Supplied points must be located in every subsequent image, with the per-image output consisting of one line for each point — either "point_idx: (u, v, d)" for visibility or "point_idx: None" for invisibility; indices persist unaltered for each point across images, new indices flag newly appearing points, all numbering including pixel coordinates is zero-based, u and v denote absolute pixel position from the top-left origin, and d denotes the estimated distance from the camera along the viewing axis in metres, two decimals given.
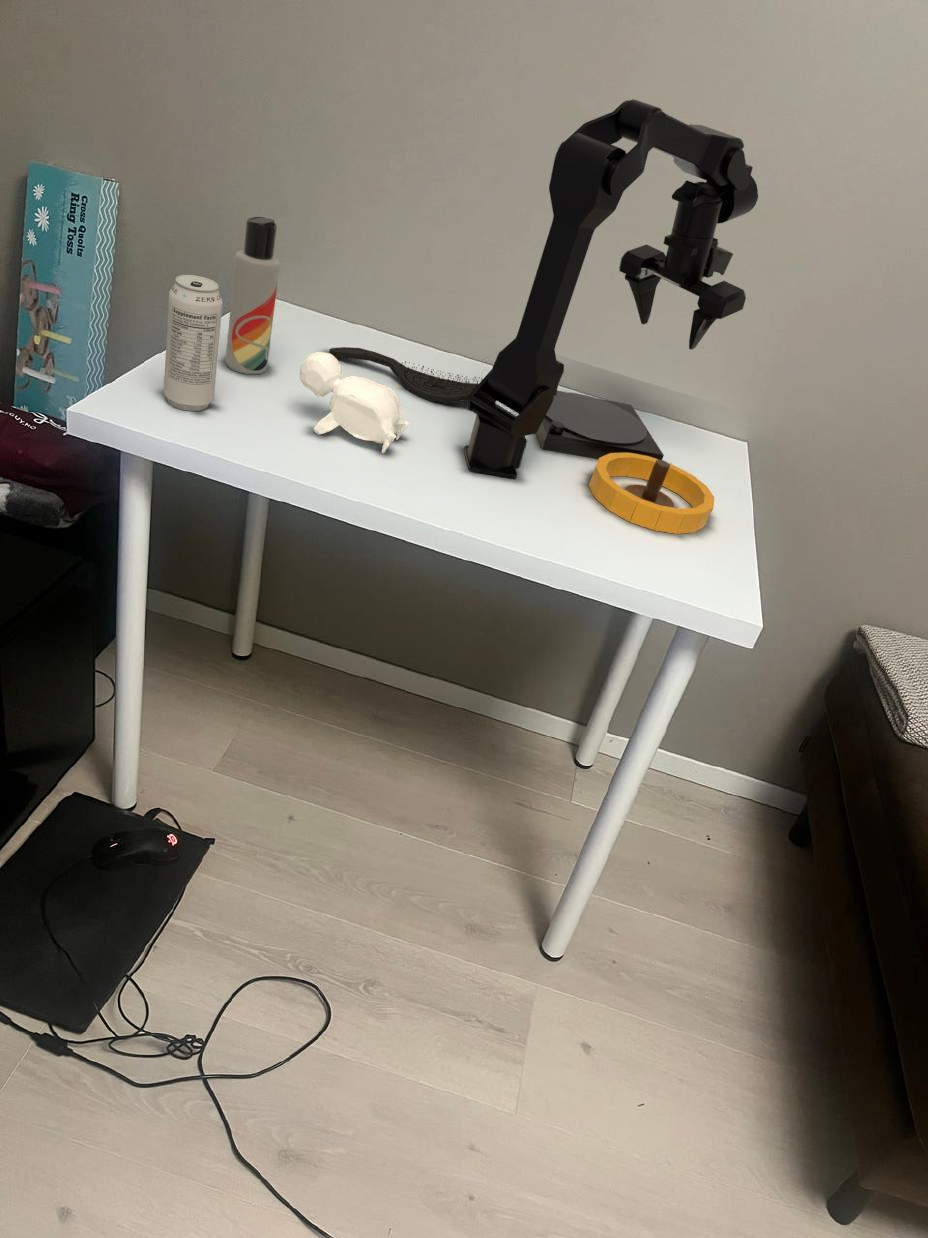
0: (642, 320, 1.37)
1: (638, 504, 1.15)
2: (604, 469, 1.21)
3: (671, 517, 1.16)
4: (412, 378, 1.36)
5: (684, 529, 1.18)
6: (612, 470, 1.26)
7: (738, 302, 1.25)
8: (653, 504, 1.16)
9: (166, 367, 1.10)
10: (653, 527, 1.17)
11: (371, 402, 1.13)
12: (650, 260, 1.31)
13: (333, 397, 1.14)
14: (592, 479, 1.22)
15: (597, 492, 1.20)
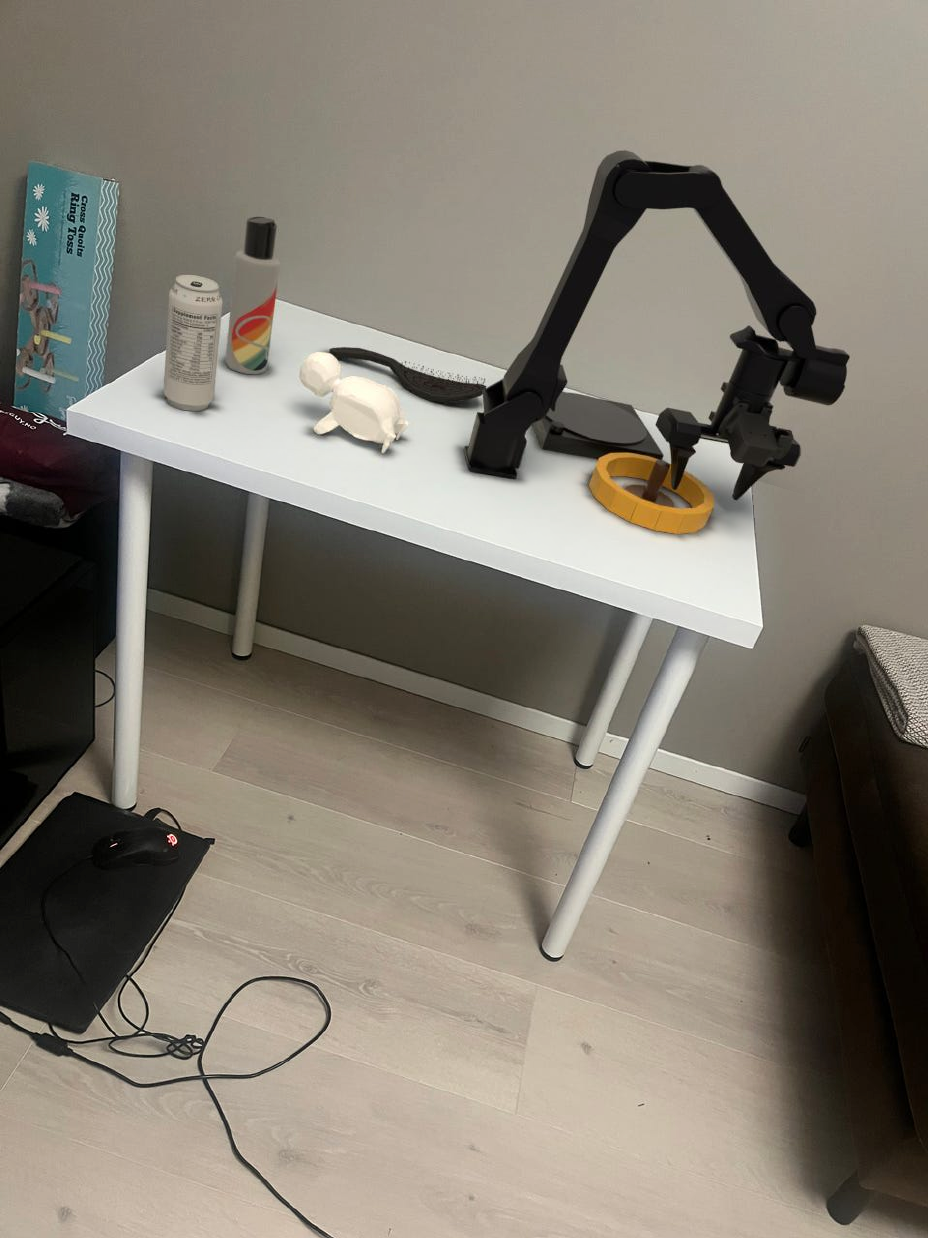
0: (733, 491, 1.25)
1: (638, 504, 1.15)
2: (604, 469, 1.21)
3: (671, 517, 1.16)
4: (412, 378, 1.36)
5: (684, 529, 1.18)
6: (612, 470, 1.26)
7: (666, 426, 1.16)
8: (653, 504, 1.16)
9: (166, 367, 1.10)
10: (653, 527, 1.17)
11: (371, 402, 1.13)
12: None
13: (333, 397, 1.14)
14: (592, 479, 1.22)
15: (597, 492, 1.20)
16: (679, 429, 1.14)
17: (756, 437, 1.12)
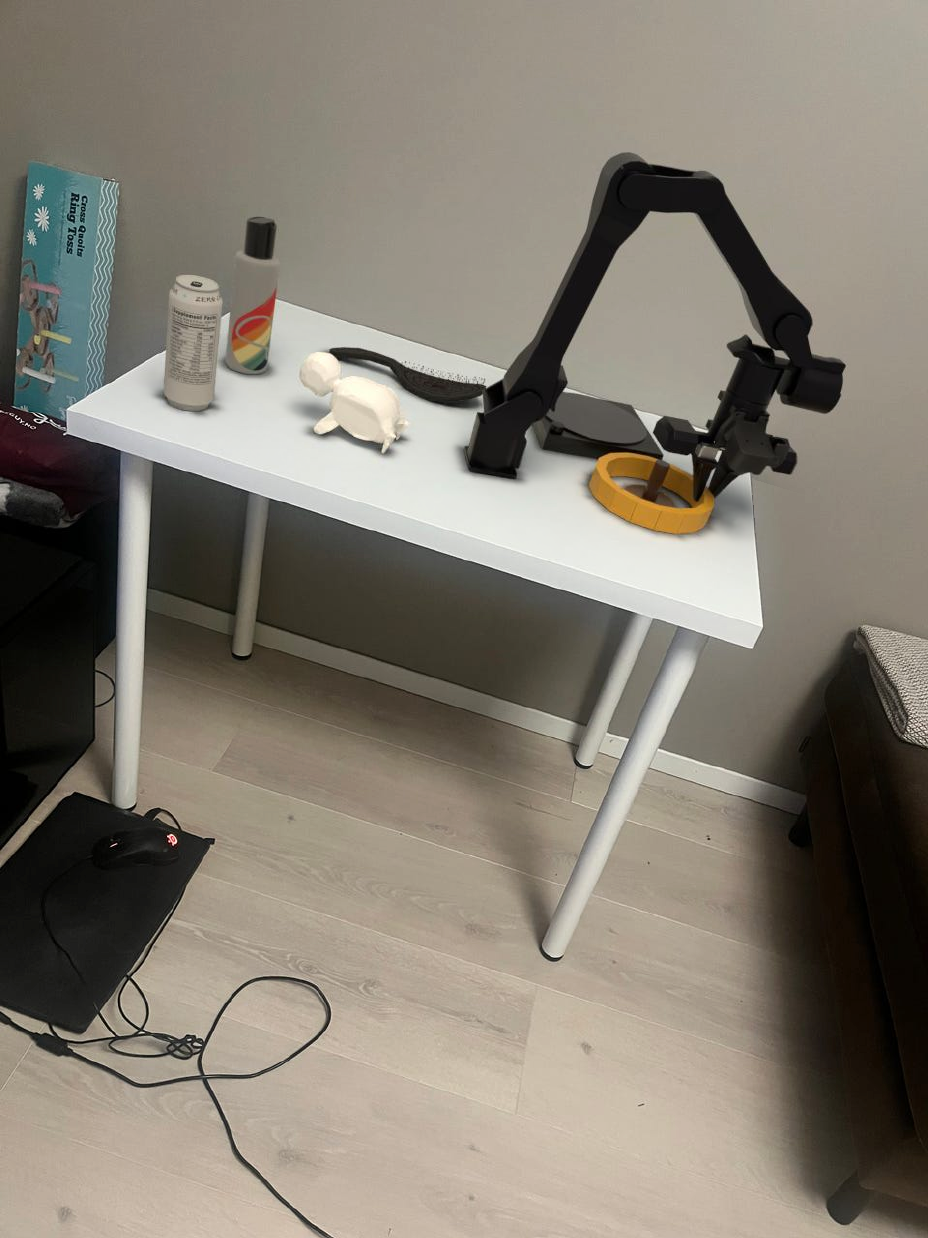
0: None
1: (638, 504, 1.15)
2: (604, 469, 1.21)
3: (671, 517, 1.16)
4: (412, 378, 1.36)
5: (684, 529, 1.18)
6: (612, 470, 1.26)
7: (663, 434, 1.17)
8: (653, 504, 1.16)
9: (166, 367, 1.10)
10: (653, 527, 1.17)
11: (371, 402, 1.13)
12: None
13: (333, 397, 1.14)
14: (592, 479, 1.22)
15: (597, 492, 1.20)
16: (676, 437, 1.15)
17: (753, 445, 1.12)
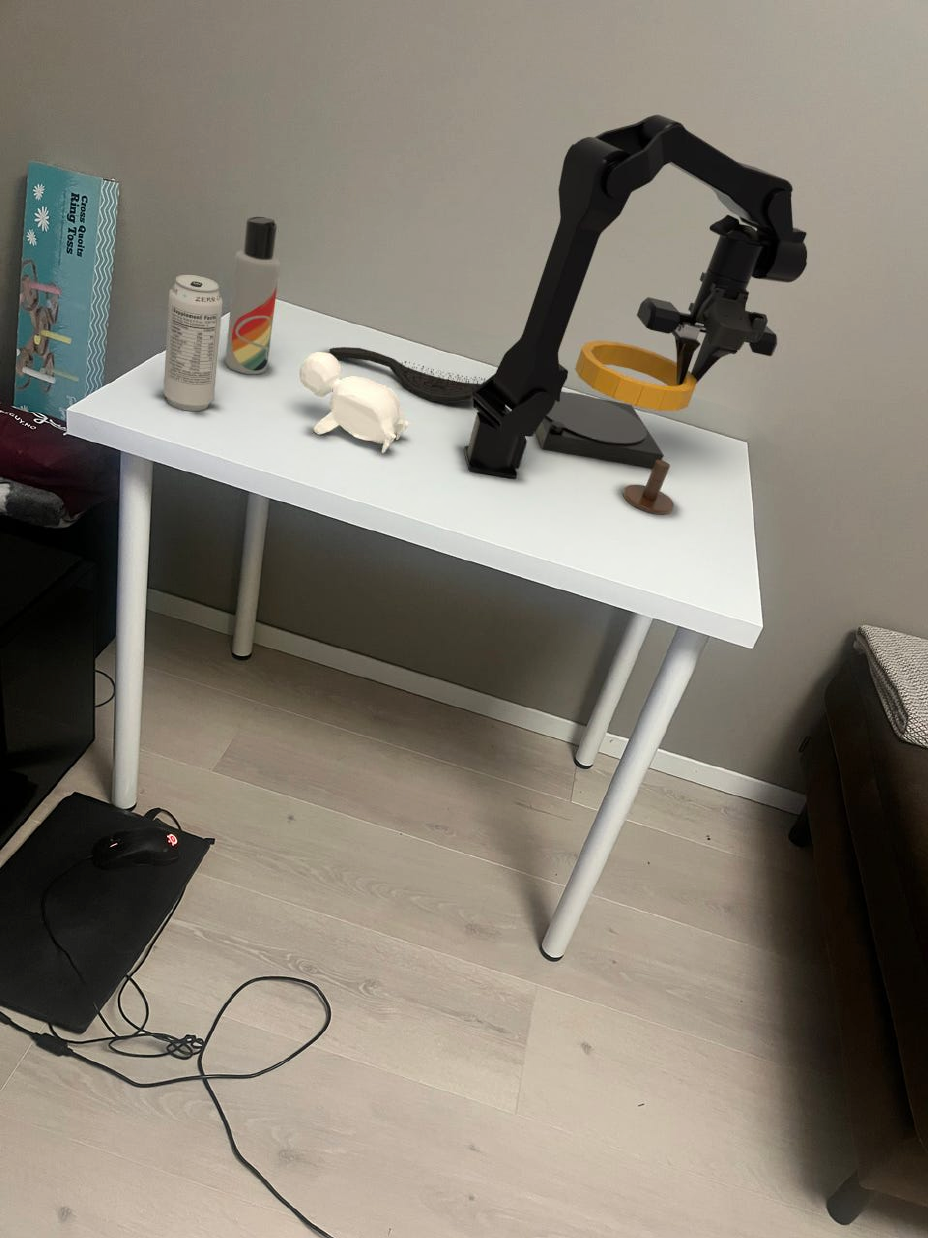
0: None
1: (621, 379, 1.19)
2: (589, 351, 1.25)
3: (652, 393, 1.20)
4: (412, 378, 1.36)
5: (666, 406, 1.21)
6: (598, 357, 1.30)
7: (646, 313, 1.21)
8: (635, 380, 1.20)
9: (166, 367, 1.10)
10: (635, 403, 1.20)
11: (371, 402, 1.13)
12: None
13: (333, 397, 1.14)
14: (578, 361, 1.26)
15: (582, 372, 1.24)
16: (658, 314, 1.19)
17: (731, 320, 1.16)
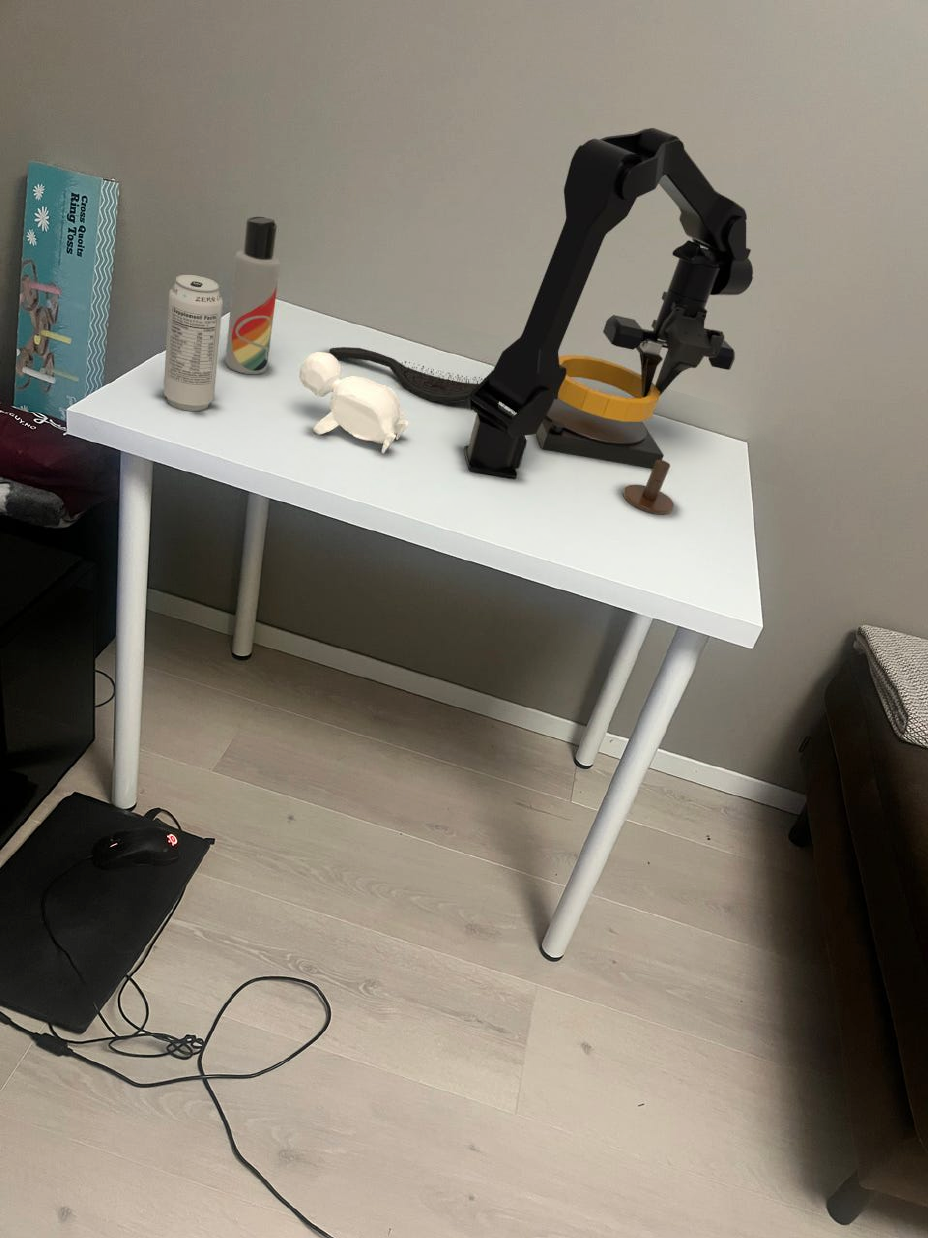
0: None
1: (588, 393, 1.27)
2: None
3: (618, 405, 1.28)
4: (412, 378, 1.36)
5: (631, 417, 1.29)
6: (568, 370, 1.38)
7: (611, 330, 1.29)
8: (602, 393, 1.28)
9: (166, 367, 1.10)
10: (602, 414, 1.28)
11: (371, 402, 1.13)
12: None
13: (333, 397, 1.14)
14: None
15: None
16: (622, 332, 1.27)
17: (690, 337, 1.24)
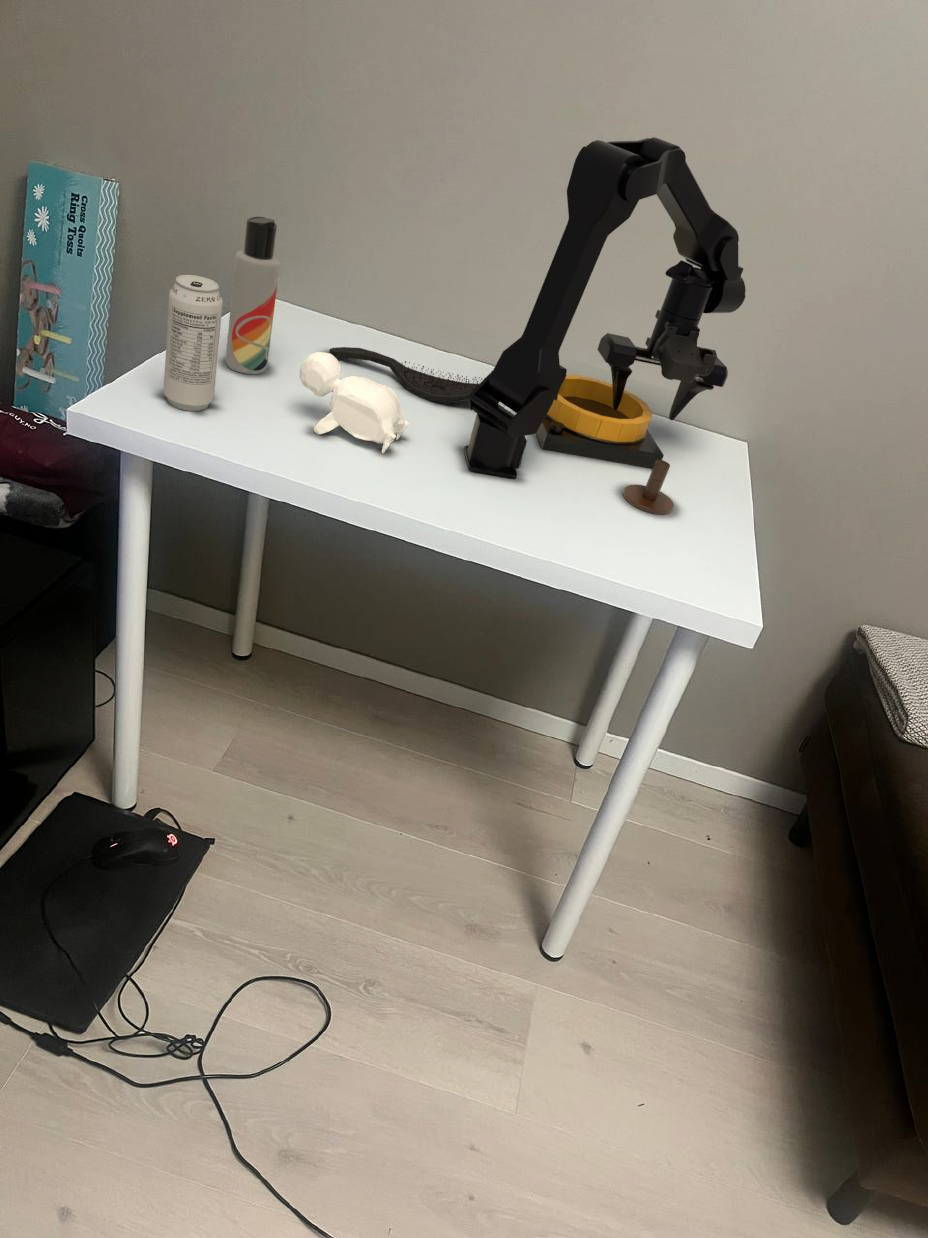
0: (670, 412, 1.39)
1: (581, 414, 1.29)
2: None
3: (610, 426, 1.29)
4: (412, 378, 1.36)
5: (623, 437, 1.31)
6: (562, 390, 1.40)
7: (605, 348, 1.30)
8: (594, 414, 1.29)
9: (166, 367, 1.10)
10: (595, 435, 1.30)
11: (371, 402, 1.13)
12: None
13: (333, 397, 1.14)
14: None
15: None
16: (616, 350, 1.28)
17: (683, 355, 1.26)
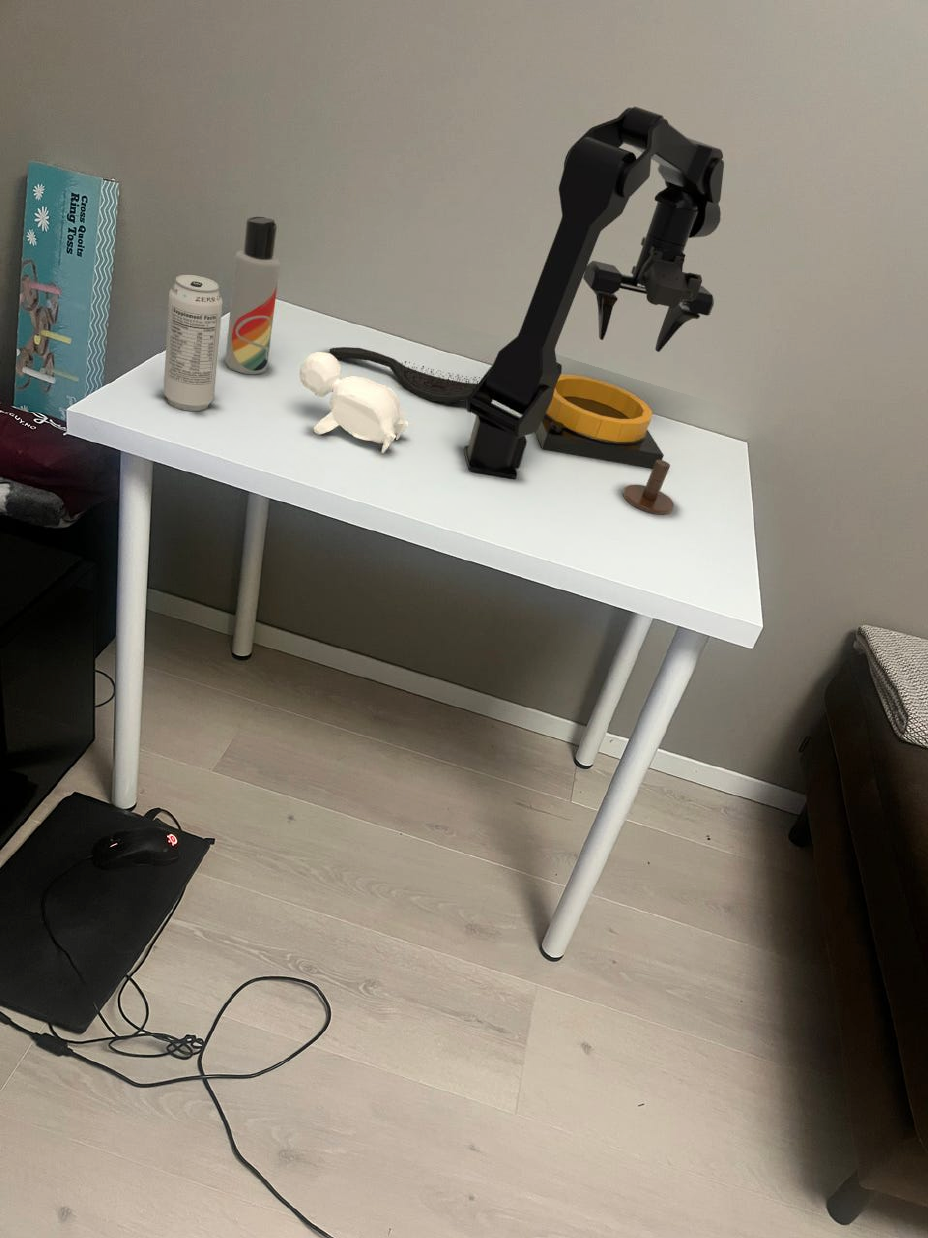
0: (656, 344, 1.39)
1: (581, 414, 1.29)
2: None
3: (610, 426, 1.29)
4: (412, 378, 1.36)
5: (623, 437, 1.31)
6: (562, 390, 1.40)
7: (591, 275, 1.30)
8: (594, 414, 1.29)
9: (166, 367, 1.10)
10: (595, 435, 1.30)
11: (371, 402, 1.13)
12: None
13: (333, 397, 1.14)
14: None
15: None
16: (601, 276, 1.28)
17: (668, 279, 1.25)
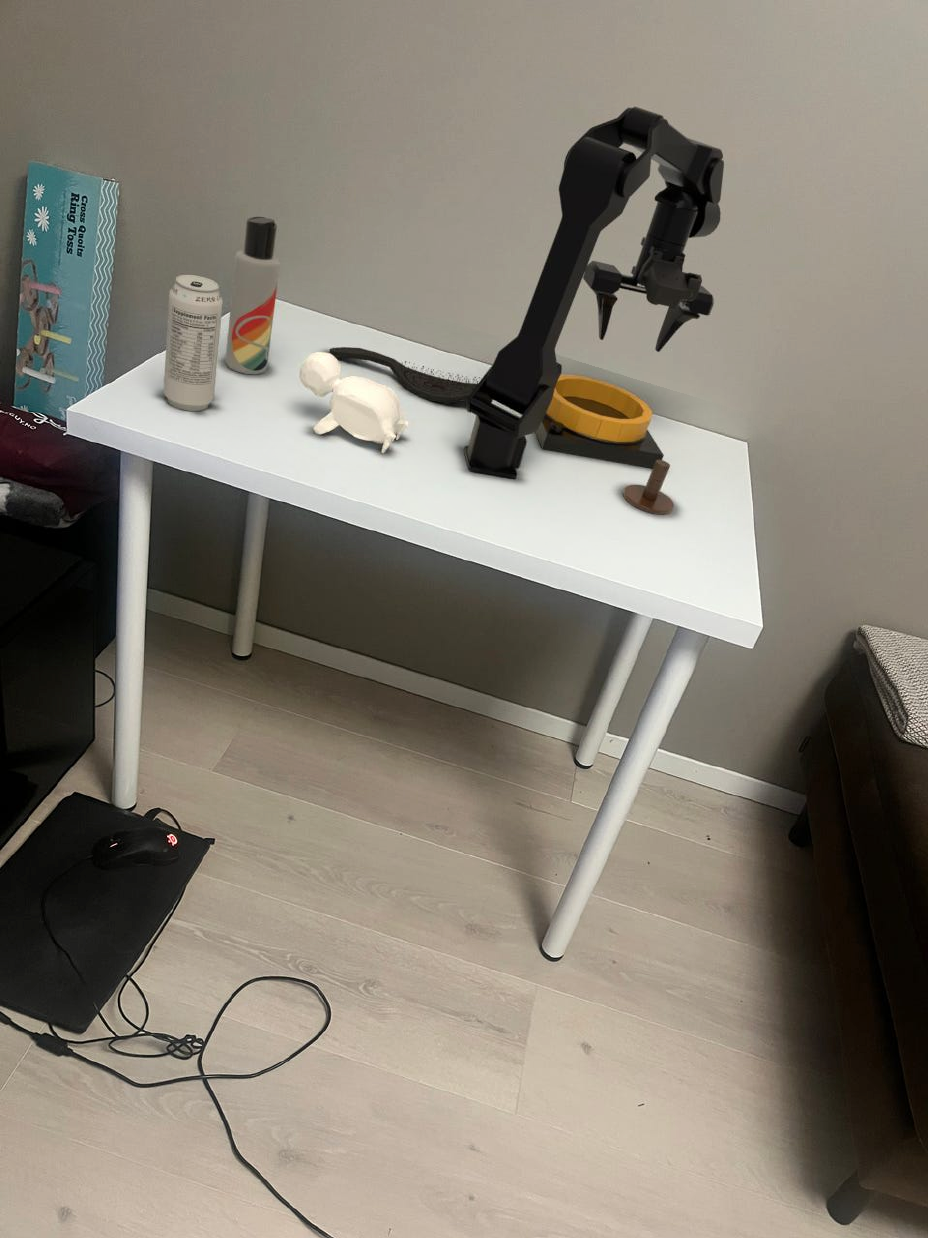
0: (656, 344, 1.39)
1: (581, 414, 1.29)
2: None
3: (610, 426, 1.29)
4: (412, 378, 1.36)
5: (623, 437, 1.31)
6: (562, 390, 1.40)
7: (591, 275, 1.30)
8: (594, 414, 1.29)
9: (166, 367, 1.10)
10: (595, 435, 1.30)
11: (371, 402, 1.13)
12: None
13: (333, 397, 1.14)
14: None
15: None
16: (601, 276, 1.28)
17: (668, 279, 1.25)
